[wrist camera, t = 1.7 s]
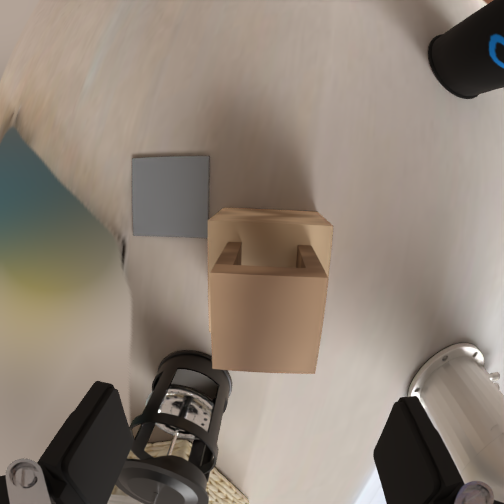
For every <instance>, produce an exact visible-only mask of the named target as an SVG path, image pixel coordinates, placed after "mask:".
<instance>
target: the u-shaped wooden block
mask: <svg viewBox="0 0 504 504" xmlns="http://www.w3.org/2000/svg"><path fill="white" fill-rule="evenodd" d="M241 257H242V242H228V243H227V244H226V246H225V248H224V249H223V251H222V253H221V255H220V256H219V258H218V260H217V261H216V263H215V265H214V267H213V268H212V270H211V272H210V305H211V342H212V369H220V370H233V371H247V372H266V373H301V374H315V370H316V364H317V358H318V352H319V346H320V339H321V332H322V325H323V318H324V311H325V303H326V295H327V287H328V276H327V274H326V272H325V270H324V268H323V266H322V264H321V263H320V261H319V259H318V257H317V255H316V253H315V251H314V250H313V248H312V246H311V245H298V246H297V260H296V268H291V267H269V266H247V265H241Z"/></svg>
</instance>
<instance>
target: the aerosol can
mask: <svg viewBox="0 0 504 504" xmlns="http://www.w3.org/2000/svg"><path fill="white" fill-rule="evenodd" d="M428 55H429V61H430V65H431V68H432V70H433V72H434V74H435V76H436V77H437V79H438V80H439V81H440V83H441V84H442V85H443V86H444V87H445V88H446V89H447V90H448V91H449V92H451V93H452V94H454V95H456V96H457V97H460V98H464V99H472V98H475V97H477V96H478V95H479V94H481V93H484V92H488V91H491V90H495V89H499V88H502V87H504V0H493V1H492V2H490V3H489V4H487V5H486V6H484V7H483V8H481V9H480V10H478V11H477V12H475V13H474V14H472V15H471V16H469V17H468V18H466V19H465V20H463V21H462V22H460V23H459V24H457V25H456V26H454V27H453V28H452V29H450V30H449V31H447V32H446V33H444V34H442V35H438V36H436V37H435V38H433V40H432V41H431V43H430V45H429V50H428Z"/></svg>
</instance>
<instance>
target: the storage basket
mask: <svg viewBox="0 0 504 504" xmlns="http://www.w3.org/2000/svg"><path fill="white" fill-rule="evenodd" d="M171 442H172V441H166V442H157V443H154V444H151V443H147V445H146V447H145V449H144V451H145V452H147V453H148V454H149V455H151V456H153V457H154V458H156V457H160V456H167V453H168V450H169V447H170V444H171ZM191 448H192V444H191V442H189V441H187V440H176V441H175V444H174V447H173V450H172V453H171V455H174V456H178V457H182V458H184V459H185V460H187V461H188V459H189V455H190V452H191ZM127 458H129V459H139V458H138V457H137V456H136V455H134V453H133V452H132V451H131V450H130V452H129V454H128V457H127ZM139 460H140V459H139ZM206 492H207V493H208V496H209V502H208V504H249V500H248V499H247V498H246V497H245V496H244V495H243V494H242V493H241V492H240V491H239V490H238V489H237V488H235V487H234V486H233V485H232V484H231V483H230V482H229V481H228V480H227V479H226V478H225V477H224V476H223V475H222V474H220V473H219V472H218V471H217V469H216V468H215V467H214V468H213V469H212V470H211V471H210V475H209V480H208V482H207V486H206ZM107 504H143V503H141V502H139V501H137V500H135V499H133V498H132V497H130V496H129V495H127V494H125V493H124V492H123V491H122V490H120V489H119V488H118V487H117V486H116V485H115V486H114V489H113V491H112V493H111V496H110V498H109V500H108V503H107Z"/></svg>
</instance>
